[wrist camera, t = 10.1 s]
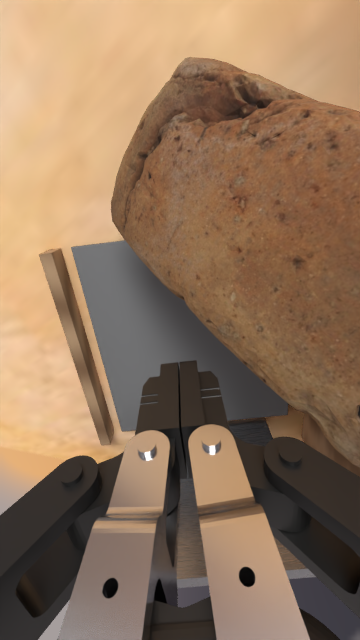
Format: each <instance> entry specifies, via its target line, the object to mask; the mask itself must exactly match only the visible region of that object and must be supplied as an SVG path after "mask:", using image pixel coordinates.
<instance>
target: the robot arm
mask: <svg viewBox="0 0 360 640" xmlns="http://www.w3.org/2000/svg"><path fill="white" fill-rule="evenodd" d="M179 365H180V370H179ZM186 461H187V464H186ZM187 468H188V474H189V478H193V481H194V487H195V495H196V502H197V509H198V516H199V522H200V529H201V536H202V543H203V550H204V557H205V564H206V570H207V577H208V584H209V591H210V597H208V598H206V599H204V600H201V601H199V602H197V603H195V604H193V605H190V606H188V607H185V608H180V607H178V592H177V559H178V540H179V522H180V479H187ZM273 536H274V537H275V538H276V539H277V540H278V541H279V542H280V543H281V544H282V545H283V546H284V547H285V548H287V549H288V550H289V551H290V552H291V553H292V554H293V555H294V556H295V557H296V558H297V559H298V560H299V561H300V562H301V563H302V564H303V565H304V566H305V567H306V568H307V569H309V570H310V571H311V572H312V573H313V574H314V575H315V576H316V577H317V578H318V579H319V580H320V581H321V582H322V583H323V584H324V585H325V586H326V587H327V588H329V589H330V590H331V591H332V592H333V593H334V594H335V595H336V596H337V597H338V598H339V599H340V600H341V601H342V602H343V603H344V604H345V605H346V606H347V607H348V608H349V609H351V610H352V611H353V612H354V613H355V614H356V615H357V616H358V617H359V618H360V477H359V476H358V475H356V474H354V473H353V472H351V471H349V470H348V469H346V468H344V467H343V466H341V465H340V464H338V463H336V462H335V461H333V460H331V459H330V458H328V457H327V456H325V455H323V454H322V453H320V452H318V451H317V450H315V449H313V448H312V447H310V446H309V445H307V444H305V443H304V442H302V441H300V440H298V439H295V438H291V437H278V438H274V439H272V440H271V441H269V442H268V443H267V445H266V446H265V447H264V446H259V445H253V444H249V443H246V442H244V441H242V440H240V439H238V438H237V437H236V436H235V435H234V434H233V433H232V432H231V430H230V428H229V425H228V421H227V417H226V412H225V408H224V404H223V399H222V396H221V391H220V386H219V382H218V378H217V377H216V376H215V375H214V374H213V373H212V372H211V371H204V372H198V367H197V360H193V361H183V362H179V363H178V362H175V363H166V364H161V367H160V376H158V377H149V379H148V380H147V381H146V383H145V384H144V385H143V389H142V397H141V402H140V408H139V414H138V420H137V426H136V432H135V436H134V437H133V438H132V439H131V440H130V441H129V442H128V443H127V445H126V447H125V450H124V452H123V453H121V454H120V455H118V456H116V457H114V458H112V459H109V460H107V461H104V462H102V463H99V464H97V463H96V461H95V460H94V459H93V458H91V457H89V456H76V457H73V458H70V459H68V460H66V461H65V462H63V463H62V464H61V465H59V466H58V467H57V468H56V469H55V470H54V471H52V472H51V473H50V474H49V475H47V476H46V477H45V478H44V479H43V480H42V481H40V482H39V483H38V484H37V485H36V486H34V487H33V488H32V489H31V490H30V491H29V492H27V493H26V494H25V495H24V496H23V497H21V498H20V499H19V500H18V501H17V502H16V503H14V504H13V505H12V506H11V507H10V508H8V509H7V510H6V511H5V512H4V513H3V514H1V515H0V640H38V639H39V637H40V636H41V635H42V633H43V632H44V631H45V630H46V629H47V627H48V626H49V625H50V624H51V622H52V621H53V620H54V618H55V617H56V616H57V615H58V613H59V612H60V611H61V610H62V608H63V607H64V606H65V605H66V603H67V602H68V601H69V600H70V601H69V604H68V608H67V611H66V614H65V617H64V620H63V624H62V627H61V630H60V633H59V636H58V639H57V640H340V639H339V638H338V637H337V636H336V635H335V634H334V633H333V632H331V631H330V630H329V629H328V628H327V627H326V626H325V625H324V624H322V623H321V622H320V621H319V620H317V619H316V618H314V617H313V616H312V615H310V614H309V613H307V612H305V611H303V610H302V609H300V608H299V607H298V604H297V602H296V599H295V596H294V593H293V590H292V588H291V585H290V582H289V579H288V576H287V574H286V571H285V568H284V565H283V562H282V559H281V557H280V554H279V551H278V548H277V545H276V543H275V540H274V537H273Z"/></svg>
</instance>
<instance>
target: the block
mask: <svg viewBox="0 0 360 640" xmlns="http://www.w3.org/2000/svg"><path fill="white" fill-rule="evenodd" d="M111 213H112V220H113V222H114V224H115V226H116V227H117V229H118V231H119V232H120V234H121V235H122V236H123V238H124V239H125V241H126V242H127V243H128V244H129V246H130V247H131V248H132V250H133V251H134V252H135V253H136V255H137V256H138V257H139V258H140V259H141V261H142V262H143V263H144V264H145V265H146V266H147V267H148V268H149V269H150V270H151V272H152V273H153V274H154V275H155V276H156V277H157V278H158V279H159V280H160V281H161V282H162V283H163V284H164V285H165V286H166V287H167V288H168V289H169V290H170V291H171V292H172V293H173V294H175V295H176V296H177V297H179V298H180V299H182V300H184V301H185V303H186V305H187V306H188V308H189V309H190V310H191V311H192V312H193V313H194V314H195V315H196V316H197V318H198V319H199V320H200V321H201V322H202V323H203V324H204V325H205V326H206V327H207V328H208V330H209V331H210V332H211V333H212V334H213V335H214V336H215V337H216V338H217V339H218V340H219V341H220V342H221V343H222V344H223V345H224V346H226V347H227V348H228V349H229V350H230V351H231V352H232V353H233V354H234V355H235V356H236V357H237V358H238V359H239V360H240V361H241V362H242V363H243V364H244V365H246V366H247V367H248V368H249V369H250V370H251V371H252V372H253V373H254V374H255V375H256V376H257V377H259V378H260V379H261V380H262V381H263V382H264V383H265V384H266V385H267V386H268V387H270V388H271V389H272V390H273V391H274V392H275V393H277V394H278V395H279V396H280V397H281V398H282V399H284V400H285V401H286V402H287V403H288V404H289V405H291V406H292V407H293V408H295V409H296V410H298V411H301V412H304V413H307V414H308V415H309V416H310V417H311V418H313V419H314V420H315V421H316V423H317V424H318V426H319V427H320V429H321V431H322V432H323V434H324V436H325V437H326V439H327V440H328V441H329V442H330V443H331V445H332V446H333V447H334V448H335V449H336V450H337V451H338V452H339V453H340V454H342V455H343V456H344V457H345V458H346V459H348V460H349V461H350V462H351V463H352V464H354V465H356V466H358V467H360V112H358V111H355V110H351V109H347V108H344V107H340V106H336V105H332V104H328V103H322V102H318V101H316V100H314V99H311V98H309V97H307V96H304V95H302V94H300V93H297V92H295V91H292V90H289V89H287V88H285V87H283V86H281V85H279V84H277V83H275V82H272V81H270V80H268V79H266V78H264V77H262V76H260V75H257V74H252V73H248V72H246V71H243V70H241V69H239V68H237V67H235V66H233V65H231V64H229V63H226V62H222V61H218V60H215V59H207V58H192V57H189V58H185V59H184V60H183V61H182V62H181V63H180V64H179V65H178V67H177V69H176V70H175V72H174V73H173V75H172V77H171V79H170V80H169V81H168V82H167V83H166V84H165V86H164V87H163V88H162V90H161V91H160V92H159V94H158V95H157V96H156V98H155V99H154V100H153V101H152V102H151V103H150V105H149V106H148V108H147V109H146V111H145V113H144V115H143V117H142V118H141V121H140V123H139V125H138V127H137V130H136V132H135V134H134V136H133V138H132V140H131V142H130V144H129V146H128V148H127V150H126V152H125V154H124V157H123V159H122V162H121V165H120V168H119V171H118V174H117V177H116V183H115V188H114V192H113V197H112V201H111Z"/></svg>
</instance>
